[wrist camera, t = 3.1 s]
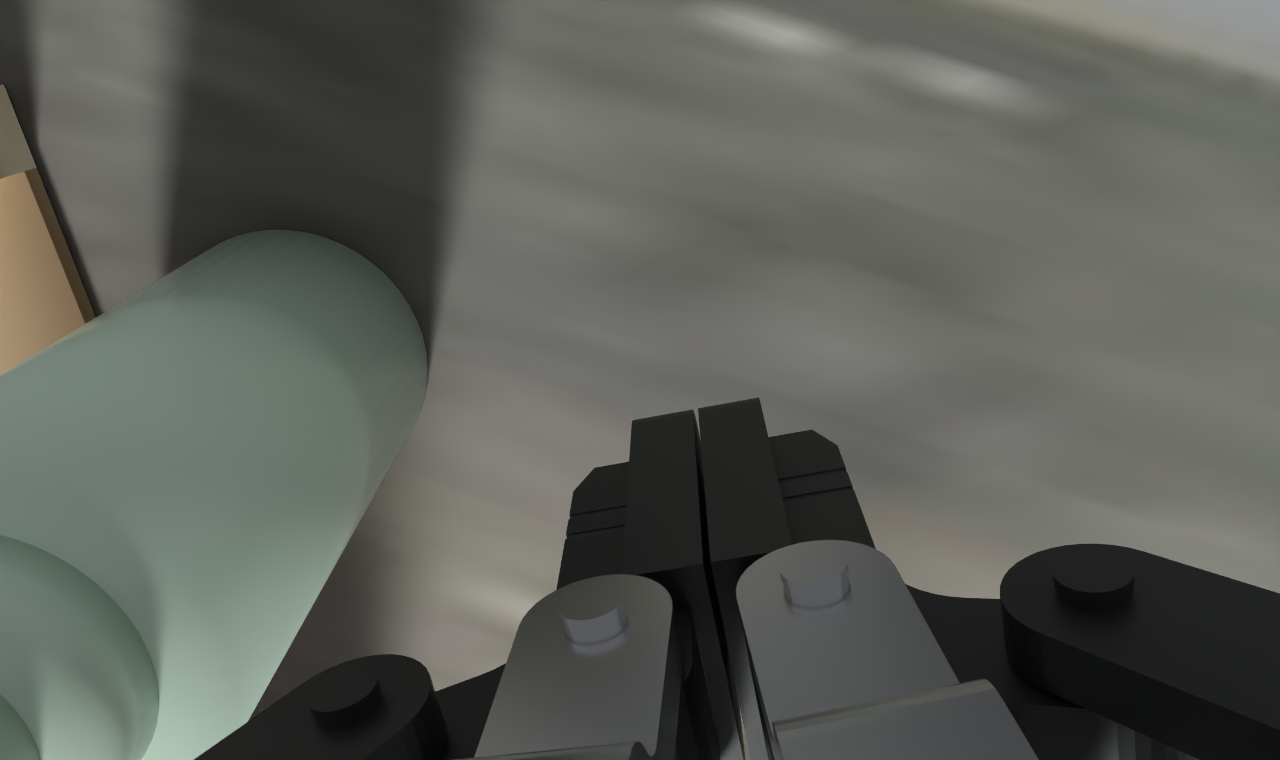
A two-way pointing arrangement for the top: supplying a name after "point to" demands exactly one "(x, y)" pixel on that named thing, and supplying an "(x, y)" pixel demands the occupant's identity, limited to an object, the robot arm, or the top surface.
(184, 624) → the bottle
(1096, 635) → the robot arm
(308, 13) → the top surface
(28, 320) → the cradle
